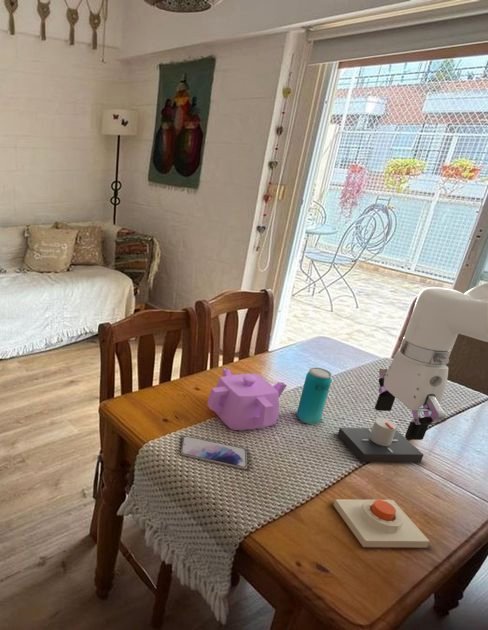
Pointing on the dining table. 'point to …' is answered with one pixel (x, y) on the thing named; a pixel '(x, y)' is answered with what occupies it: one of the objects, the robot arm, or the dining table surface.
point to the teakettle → (245, 401)
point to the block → (379, 525)
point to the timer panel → (379, 447)
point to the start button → (383, 510)
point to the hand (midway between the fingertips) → (397, 423)
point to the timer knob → (383, 431)
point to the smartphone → (214, 452)
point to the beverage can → (314, 395)
